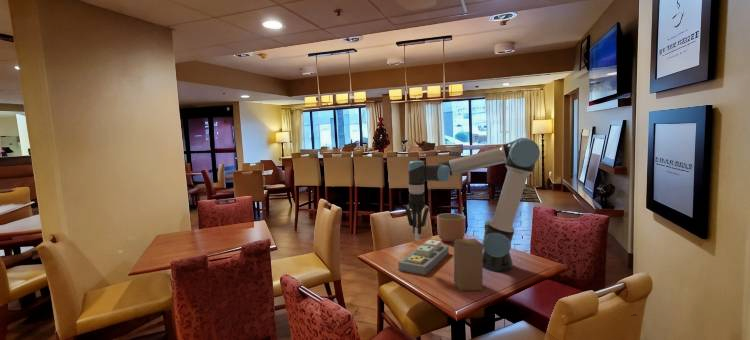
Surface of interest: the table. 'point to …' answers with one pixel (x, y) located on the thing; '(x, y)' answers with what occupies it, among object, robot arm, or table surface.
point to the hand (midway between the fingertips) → (417, 239)
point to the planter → (451, 226)
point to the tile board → (428, 265)
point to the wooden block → (468, 264)
